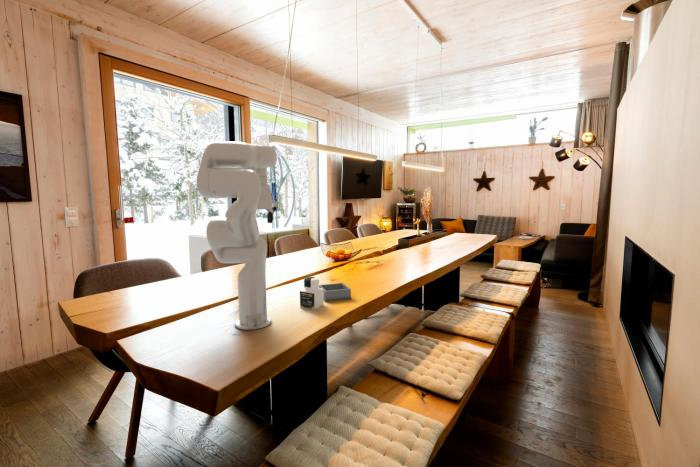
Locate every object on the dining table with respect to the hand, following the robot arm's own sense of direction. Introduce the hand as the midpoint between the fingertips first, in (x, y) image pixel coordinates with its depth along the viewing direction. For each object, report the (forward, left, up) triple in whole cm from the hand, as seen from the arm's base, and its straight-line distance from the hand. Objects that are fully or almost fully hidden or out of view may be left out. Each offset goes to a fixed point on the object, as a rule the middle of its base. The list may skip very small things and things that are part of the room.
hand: (259, 223), depth 143 cm
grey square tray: (0, -32, -34) cm, 47 cm away
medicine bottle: (-10, -19, -34) cm, 40 cm away
